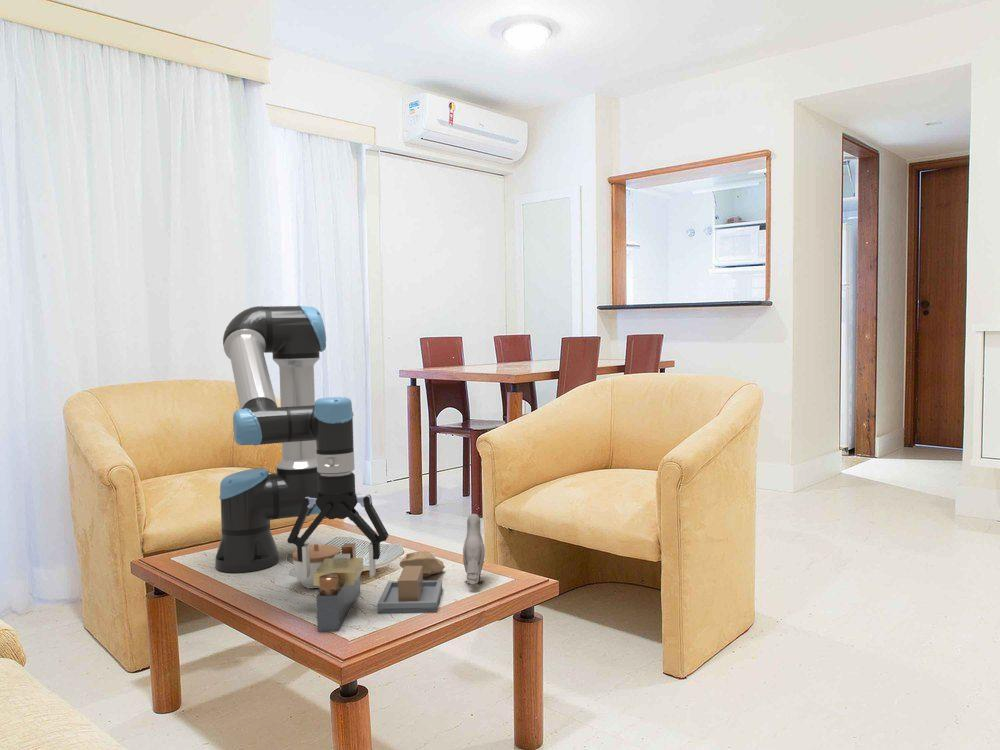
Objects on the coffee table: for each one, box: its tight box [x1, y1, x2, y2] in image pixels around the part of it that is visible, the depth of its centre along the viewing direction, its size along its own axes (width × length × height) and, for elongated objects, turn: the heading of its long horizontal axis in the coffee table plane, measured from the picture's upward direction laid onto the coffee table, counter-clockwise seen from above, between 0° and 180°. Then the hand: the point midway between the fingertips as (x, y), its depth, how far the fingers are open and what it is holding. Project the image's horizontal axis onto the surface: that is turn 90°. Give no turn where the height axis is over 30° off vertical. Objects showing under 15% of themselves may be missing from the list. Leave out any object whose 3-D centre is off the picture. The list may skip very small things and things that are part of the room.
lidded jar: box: [291, 543, 341, 589], centre depth 171 cm, size 11×11×9 cm
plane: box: [315, 542, 362, 633], centre depth 154 cm, size 22×4×11 cm, turn 0°
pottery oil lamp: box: [399, 550, 446, 578], centre depth 174 cm, size 9×12×7 cm
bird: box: [462, 513, 486, 586], centre depth 169 cm, size 5×14×15 cm, turn 179°
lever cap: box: [313, 553, 364, 586], centre depth 154 cm, size 10×8×4 cm
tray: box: [376, 566, 443, 614], centre depth 159 cm, size 14×12×6 cm
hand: (339, 575), depth 153 cm, fingers open, 13 cm apart
